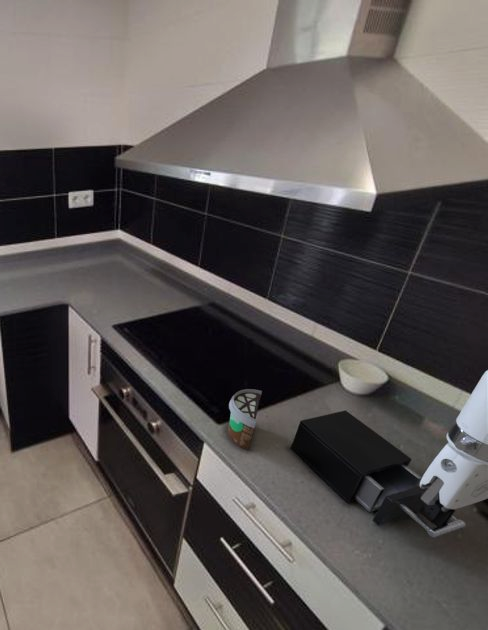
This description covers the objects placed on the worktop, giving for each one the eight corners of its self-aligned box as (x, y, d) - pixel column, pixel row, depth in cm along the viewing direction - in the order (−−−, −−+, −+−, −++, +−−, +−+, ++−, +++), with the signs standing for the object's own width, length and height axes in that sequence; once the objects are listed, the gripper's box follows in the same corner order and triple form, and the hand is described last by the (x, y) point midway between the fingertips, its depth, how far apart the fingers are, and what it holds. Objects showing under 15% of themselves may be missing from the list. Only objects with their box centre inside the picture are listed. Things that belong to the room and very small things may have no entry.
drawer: (460, 541, 68) (479, 516, 64) (412, 558, 65) (429, 534, 62) (359, 457, 84) (370, 434, 81) (317, 468, 82) (327, 445, 79)
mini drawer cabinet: (394, 488, 78) (412, 459, 74) (346, 503, 75) (361, 473, 71) (333, 437, 91) (345, 410, 87) (290, 448, 88) (300, 420, 84)
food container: (227, 413, 99) (235, 382, 94) (253, 421, 96) (262, 389, 91) (218, 444, 89) (226, 411, 84) (246, 454, 86) (256, 421, 82)
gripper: (476, 471, 53) (421, 550, 62) (549, 450, 57) (487, 527, 65) (420, 433, 60) (377, 509, 68) (488, 416, 63) (439, 491, 71)
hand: (431, 518), depth 66 cm, fingers closed
